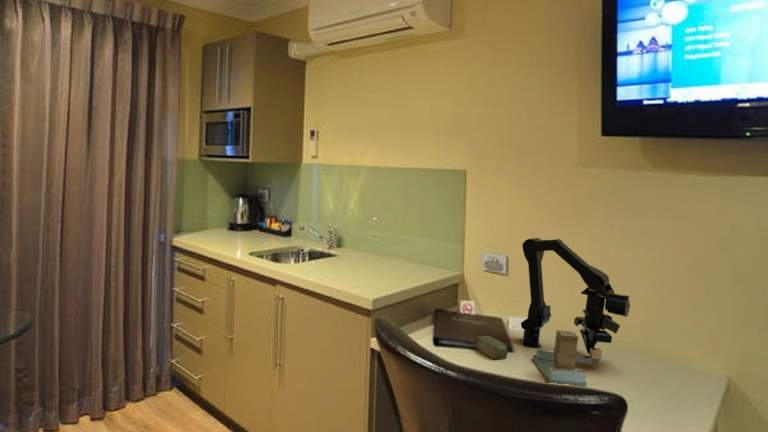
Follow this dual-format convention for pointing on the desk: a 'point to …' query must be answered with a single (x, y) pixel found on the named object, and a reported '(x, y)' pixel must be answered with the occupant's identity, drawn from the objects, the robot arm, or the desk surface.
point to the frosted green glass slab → (560, 373)
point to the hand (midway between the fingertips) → (589, 353)
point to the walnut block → (565, 349)
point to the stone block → (491, 347)
